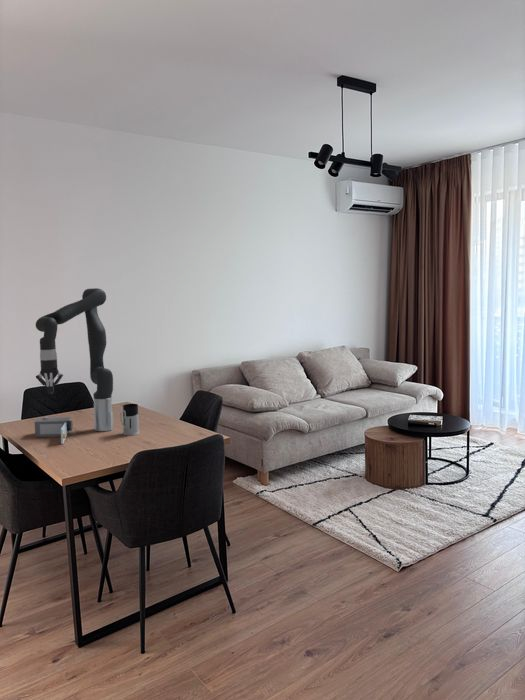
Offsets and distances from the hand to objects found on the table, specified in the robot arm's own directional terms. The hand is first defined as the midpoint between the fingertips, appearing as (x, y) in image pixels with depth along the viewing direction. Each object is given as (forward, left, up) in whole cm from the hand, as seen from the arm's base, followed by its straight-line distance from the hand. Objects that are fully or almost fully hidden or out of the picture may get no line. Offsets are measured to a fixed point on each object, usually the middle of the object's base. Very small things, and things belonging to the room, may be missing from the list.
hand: (50, 393), depth 266 cm
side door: (-5, -2, -23) cm, 24 cm away
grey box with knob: (+4, -15, -24) cm, 28 cm away
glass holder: (-35, -10, -24) cm, 44 cm away
